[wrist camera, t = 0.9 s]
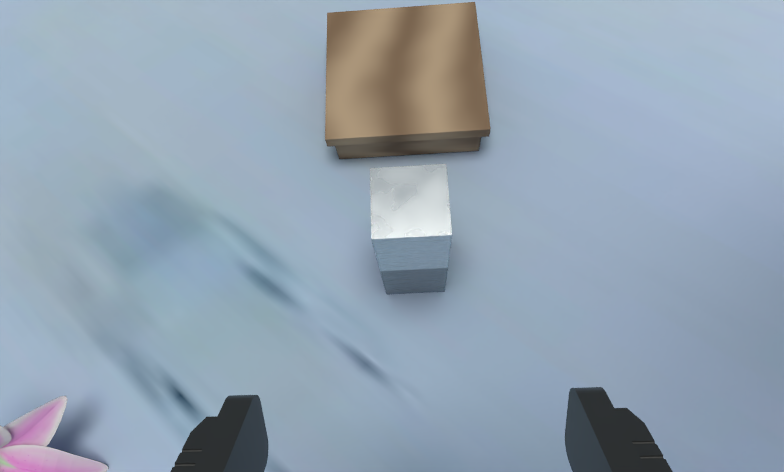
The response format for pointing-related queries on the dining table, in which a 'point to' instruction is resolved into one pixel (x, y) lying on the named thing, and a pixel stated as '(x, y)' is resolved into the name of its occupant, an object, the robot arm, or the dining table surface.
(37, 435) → the lily
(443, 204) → the block
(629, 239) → the dining table surface
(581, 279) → the dining table surface
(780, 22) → the dining table surface
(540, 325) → the dining table surface
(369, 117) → the walnut stand
